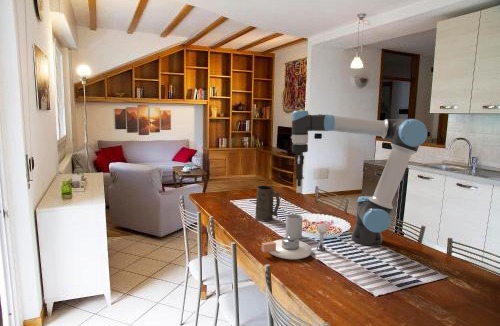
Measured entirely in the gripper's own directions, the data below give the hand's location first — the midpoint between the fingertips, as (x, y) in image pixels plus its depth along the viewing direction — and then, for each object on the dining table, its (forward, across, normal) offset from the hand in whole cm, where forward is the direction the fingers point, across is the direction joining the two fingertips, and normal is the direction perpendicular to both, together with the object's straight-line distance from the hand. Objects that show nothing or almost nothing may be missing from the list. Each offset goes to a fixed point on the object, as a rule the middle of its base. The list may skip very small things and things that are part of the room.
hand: (299, 192), depth 168 cm
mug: (+27, -12, -5) cm, 30 cm away
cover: (+24, +10, -3) cm, 26 cm away
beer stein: (+26, -36, -22) cm, 50 cm away
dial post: (+27, +3, +11) cm, 29 cm away
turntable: (+25, +12, -5) cm, 28 cm away
